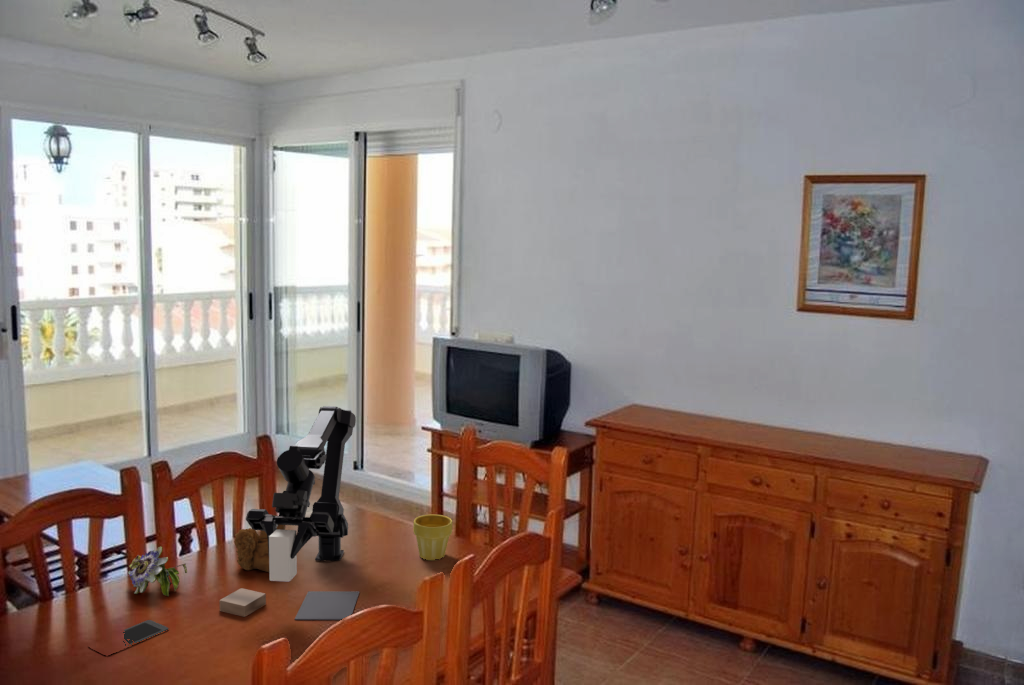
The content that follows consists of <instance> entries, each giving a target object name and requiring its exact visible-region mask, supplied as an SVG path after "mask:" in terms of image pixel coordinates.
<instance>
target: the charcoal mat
mask: <svg viewBox="0 0 1024 685" xmlns="http://www.w3.org/2000/svg"><path fill="white" fill-rule="evenodd" d="M359 595H360V591H357V590H355V591H351V590H350V591H341V590H340V591H337V590H335V591H334V590H333V591H331V590H330V591H327V590H326V591H323V590H322V591H317V590H315V591H313V590H312V591H307V594H306V595H305V597H304V599H303V601H302V604H301V605H300V608H299V609H298V611H297V613H296V615H295V617H294V620H295V621H342V620H341V619H343V618H345V617H347V616H349V615H351V614H352V615H353V612H354V610H355V607H356V604H357V601H358V598H359Z"/></svg>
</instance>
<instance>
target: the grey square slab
mask: <svg viewBox="0 0 1024 685" xmlns="http://www.w3.org/2000/svg"><path fill="white" fill-rule="evenodd" d="M266 596H267V593H264V592H260V591H256V590H251V589H247V588H243V587H242V588H241V587H240V588H238V589H236V590H235V591H233V592H232V593H229V594H228V595H227V596H224V597H223V598H221V599H219V612H224V613H227V614H231V615H235V616H240V617H244V618H245V617H247V616H248V615H251V614H252V613H254V612H255V611H257V610H259V609H260V608H263V607H264V606H266V604H267V597H266Z"/></svg>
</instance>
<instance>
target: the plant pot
mask: <svg viewBox="0 0 1024 685" xmlns="http://www.w3.org/2000/svg"><path fill="white" fill-rule="evenodd" d="M412 529H413V534H414V536H416V543H417V548H418V554H419V555H418V556H419V557H420V558H421V559H422V558H423V560H425V559H426V560H425V561H436V560H435V559H439V560H441V559H440V558H442V557H443V558H444V557H445V556H446V550H447V547H448V542H449V538H450V536H451V535H452V533H453V520H452V519H451V517H449V516H446V515H442V514H423V515H419V516H417V517H415V518H414V520H413V526H412ZM443 558H442V559H443Z"/></svg>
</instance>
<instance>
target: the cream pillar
mask: <svg viewBox="0 0 1024 685" xmlns="http://www.w3.org/2000/svg"><path fill="white" fill-rule="evenodd" d="M296 535H297V530H295V529H285V530H280V529H277V530H275V531H274V532H273V533H272V534H271V535H270V536H269V572H268V573H269V581H271V582H288V583H289V582H291V581H292V580H293V578H295V576H296V575H297V574H298V571H297V570H298V565H297V564H298V563H297V562H298V561H297V555H296V556H295V557H294V558H293V559H291V557H290V556H291V551H292V547H293V544H294V541H295V538H296Z"/></svg>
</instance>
